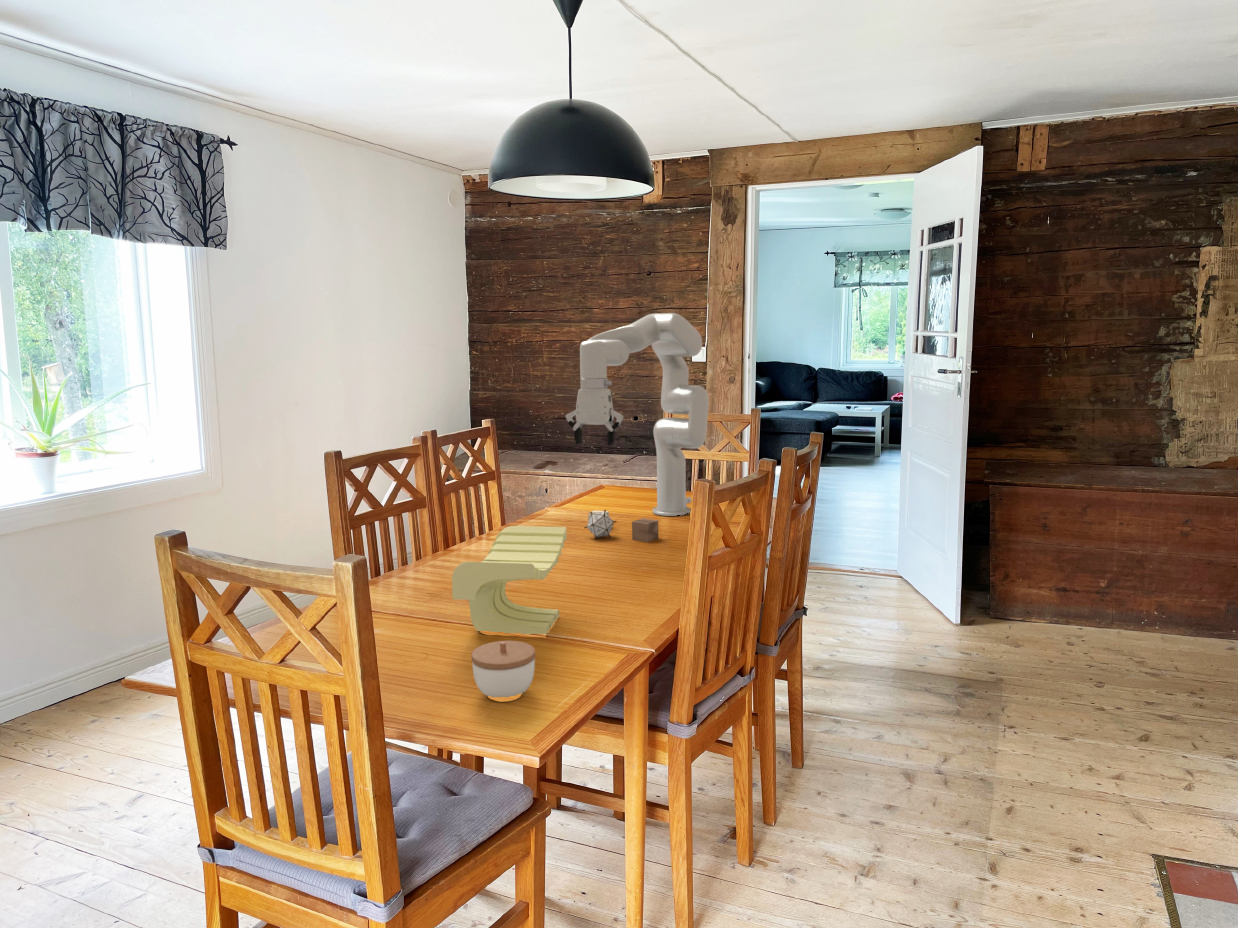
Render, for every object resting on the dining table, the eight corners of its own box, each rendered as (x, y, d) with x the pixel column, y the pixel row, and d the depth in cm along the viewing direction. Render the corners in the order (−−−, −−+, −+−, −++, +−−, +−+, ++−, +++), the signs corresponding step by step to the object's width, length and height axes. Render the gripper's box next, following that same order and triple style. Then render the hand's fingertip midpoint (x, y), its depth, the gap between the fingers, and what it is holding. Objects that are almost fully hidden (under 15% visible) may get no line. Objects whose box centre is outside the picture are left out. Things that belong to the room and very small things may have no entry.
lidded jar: (461, 703, 144) (458, 649, 143) (492, 678, 154) (490, 628, 153) (518, 712, 140) (516, 657, 139) (547, 686, 150) (545, 635, 149)
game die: (606, 550, 255) (615, 528, 248) (578, 541, 254) (587, 518, 248) (612, 530, 261) (621, 507, 255) (585, 520, 261) (594, 498, 254)
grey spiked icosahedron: (593, 526, 270) (593, 510, 269) (609, 527, 269) (608, 511, 268) (588, 529, 265) (588, 514, 265) (603, 530, 264) (603, 514, 263)
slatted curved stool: (500, 601, 197) (497, 525, 194) (568, 603, 195) (566, 526, 192) (455, 649, 168) (450, 561, 165) (534, 653, 166) (531, 563, 163)
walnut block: (643, 536, 256) (643, 518, 255) (658, 538, 253) (658, 520, 252) (632, 540, 252) (631, 521, 251) (647, 542, 249) (647, 524, 248)
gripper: (626, 384, 246) (627, 443, 248) (570, 383, 251) (571, 441, 254) (618, 385, 239) (618, 447, 241) (560, 385, 244) (561, 445, 247)
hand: (594, 444), depth 248 cm, fingers open, 9 cm apart
